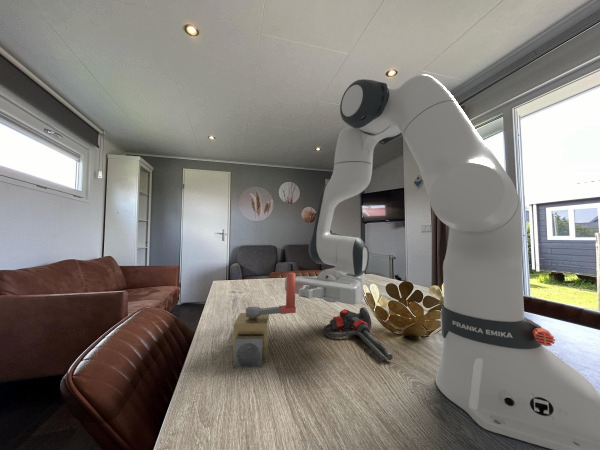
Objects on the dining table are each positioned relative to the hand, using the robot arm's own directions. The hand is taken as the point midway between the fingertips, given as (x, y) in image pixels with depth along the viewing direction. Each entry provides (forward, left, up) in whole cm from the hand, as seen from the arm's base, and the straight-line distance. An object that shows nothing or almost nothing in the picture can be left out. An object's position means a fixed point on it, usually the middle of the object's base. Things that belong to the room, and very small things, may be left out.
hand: (303, 293), depth 51 cm
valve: (-5, -17, -15) cm, 23 cm away
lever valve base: (+10, +6, -14) cm, 18 cm away
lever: (+8, +2, -5) cm, 10 cm away
